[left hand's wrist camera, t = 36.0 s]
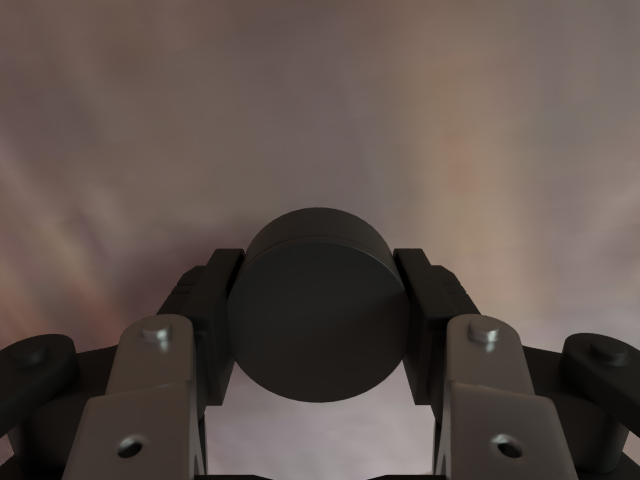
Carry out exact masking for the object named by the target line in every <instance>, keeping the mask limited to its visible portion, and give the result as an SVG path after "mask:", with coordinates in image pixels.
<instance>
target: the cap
mask: <svg viewBox="0 0 640 480" xmlns="http://www.w3.org/2000/svg"><path fill="white" fill-rule="evenodd" d="M410 305H411V303H410V300H409V297H408V294H407V291H406V289H405V286H404V284H403V281H402V279H401V276H400V274H399V271H398V269H397V266H396V264H395V261H394V258H393V256H392V253H391V251H390V249H389V247H388V245H387V243H386V242H385V241H384V239H383V238H382V236H381V235H380V234H379V233H378V232H377V231H376V230H375V229H374V228H373V227H372V226H371V225H369V224H368V223H367V222H365V221H364V220H362V219H360V218H359V217H357V216H355V215H352V214H350V213H347V212H344V211H341V210H337V209H331V208H305V209H300V210H296V211H292V212H290V213H287V214H285V215H282V216H280V217H279V218H277V219H275V220H273V221H272V222H271V223H269V224H268V225H266V226H265V227H264V228H263V229H262V230H261V231H260V232H259V233H258V234H257V235H256V237H255V238H254V239H253V240H252V242H251V244H250V246H249V247H248V249H247V252H246V254H245V256H244V259H243V261H242V264H241V266H240V268H239V271H238V273H237V276H236V278H235V281H234V283H233V285H232V288H231V290H230V293H229V295H228V298H227V312H228V322H229V333H230V344H231V353H232V356H233V357H234V359H235V361H236V362H237V364H238V365H239V366H240V368H241V369H242V370H243V371H244V372H245V373H246V374H247V375H248V376H249V377H250V378H251V379H252V380H253V381H255V382H256V383H257V384H259V385H260V386H262V387H263V388H265V389H267V390H268V391H271V392H273V393H275V394H277V395H280V396H282V397H285V398H288V399H293V400H297V401H303V402H314V403H324V402H334V401H340V400H345V399H348V398H351V397H355V396H357V395H360V394H362V393H364V392H366V391H368V390H370V389H372V388H373V387H375V386H377V385H378V384H379V383H381V382H382V381H383V380H385V379H386V378H387V377H388V376H389V375H390V374H391V373H392V372H393V371H394V370H395V368H396V367H397V366H398V365H399V363H400V362H401V360H402V359H403V357H404V355H405V353H406V349H407V339H408V328H409V317H410Z"/></svg>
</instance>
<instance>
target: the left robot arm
mask: <svg viewBox="0 0 640 480" xmlns="http://www.w3.org/2000/svg"><path fill="white" fill-rule="evenodd" d="M244 256H245V252H244V250H243V249H216V250H215V251H214V253H213V255H212V257H211V258H210V260H209V262H208V263H207V265H206V266H196V267H194V268H192V269H191V270H189V271H188V272H186V273H184V274H183V276H182V277H181V279H180V280H179V281H178V283H177V286H175V287H174V289H173V290H172V292H171V294H170V295H169V296H168V298H167V299H166V301H165V302H164V304H163V305H162V306H161V308H160V309H159V311H158V312H157V314H156V315H155V316H151V317H147V318H144V319H142V320H139V321H137V322H135V323H134V324H132V325H130V326H129V327H128V328H127V329H126V330H125V331H124V332H123V333H122V335H121V337H120V340H119V344H118V345H115V346H112V347H108V348H103V349H98V350H92V351H87V352H82V353H77V354H76V350H75V346H74V343H73V340H72V339H71V338H69V337H68V336H65V335H60V334H45V335H39V336H34V337H30V338H27V339H24V340H21V341H18V342H16V343H14V344H12V345H10V346H8V347H6V348H4V349H2V350H1V351H0V438H1V437H2V436H4V435H5V434H6V433H7V435H8V438H9V440H10V443H11V446H12V449H13V451H14V455H13V456H12V457H11V458H9V459H8V460H7V461H6V462H5V463H4V464H2V465H1V466H0V480H272V479H268V478H264V477H260V476H256V475H208V455H207V432H206V423H205V415H204V411H205V408H206V406H222V404H223V400H224V397H225V393H226V390H227V387H228V383H229V380H230V377H231V373H232V370H233V366H234V363H235V359H234V357H233V356H232V353H231V344H230V333H229V322H228V312H227V298H228V295H229V293H230V290H231V288H232V285H233V283H234V281H235V278H236V276H237V273H238V271H239V268H240V266H241V264H242V261H243V259H244ZM393 258H394V261H395V264H396V266H397V269H398V271H399V274H400V276H401V279H402V281H403V284H404V286H405V289H406V291H407V294H408V297H409V300H410V303H411V305H410V317H409V328H408V339H407V349H406V353H405V355H404V357H403V359H402V361H403V364H404V368H405V371H406V375H407V378H408V382H409V385H410V389H411V392H412V396H413V399H414V403H415V405H431V408H432V411H433V414H434V417H435V423H434V432H433V455H432V475H384V476H380V477H376V478H372V479H368V480H640V466H639V465H638V464H636V463H635V462H634V461H633V460H632V459H630V458H629V457H628V456H627V455H626V454H625V453H623V452H622V450H623V447H624V444H625V442H626V439H627V436H628V433H629V431H631V432H632V433H634V434H635V435H636V436H638V437H639V438H640V351H639V350H638V349H636V348H634V347H632V346H631V345H629V344H627V343H625V342H622V341H620V340H617V339H615V338H611V337H608V336H604V335H600V334H593V333H578V334H573V335H571V336H569V337H567V339H566V340H565V342H564V346H563V350H562V353H557V352H552V351H547V350H542V349H536V348H531V347H527V346H523V345H522V344H521V340H520V337H519V335H518V333H517V332H516V331H515V330H514V329H513V328H512V327H511V326H510V325H508V324H506V323H505V322H503V321H501V320H498V319H496V318H493V317H489V316H485V315H481V313H480V312H479V310H478V309H477V307H476V306H475V304H474V303H473V301H472V300H471V298H470V297H469V295H468V294H466V291H465V289H464V288H463V287H462V286H461V284H460V282H459V281H458V279H457V278H456V276H455V275H454V273H452V272H450V271H449V270H447V269H446V268H444V267H443V266H441V265H431V264H430V262H429V260H428V259H427V257H426V255H425V254H424V252H423V250H422V249H394V251H393Z"/></svg>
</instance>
